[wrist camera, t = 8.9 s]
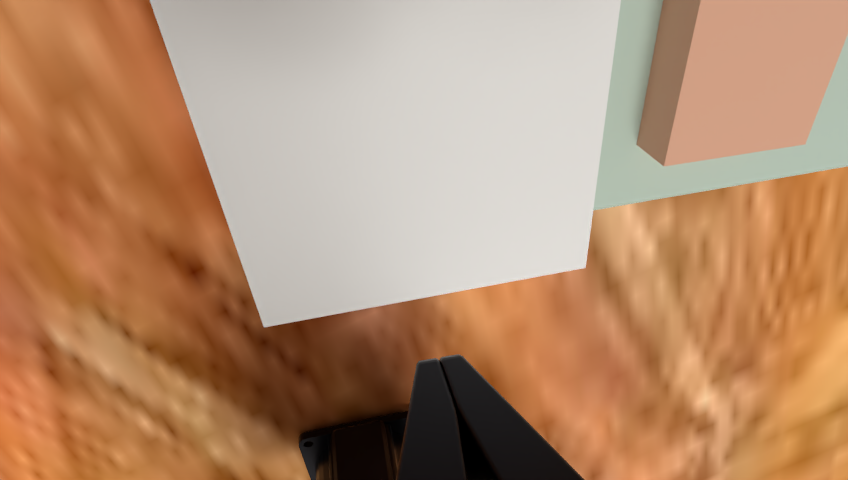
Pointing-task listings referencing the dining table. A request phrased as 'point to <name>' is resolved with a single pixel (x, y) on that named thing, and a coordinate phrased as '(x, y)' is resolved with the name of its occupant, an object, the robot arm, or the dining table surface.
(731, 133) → the tile
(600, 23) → the board
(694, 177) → the mat
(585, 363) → the dining table surface
